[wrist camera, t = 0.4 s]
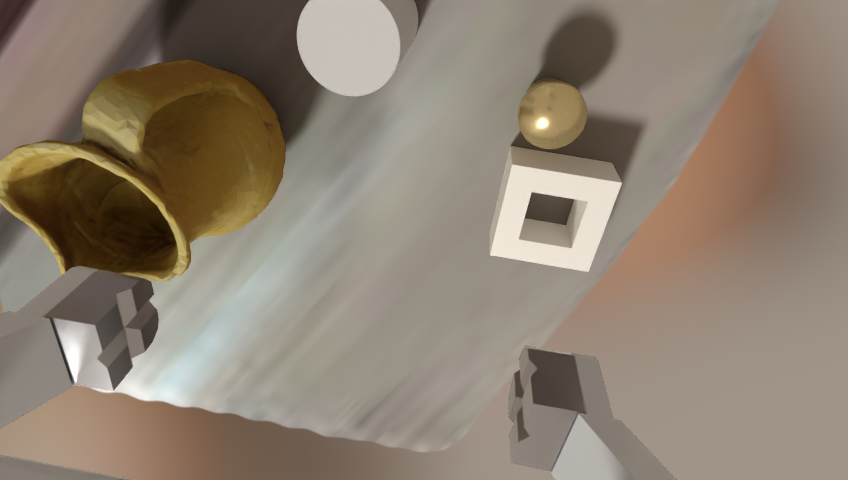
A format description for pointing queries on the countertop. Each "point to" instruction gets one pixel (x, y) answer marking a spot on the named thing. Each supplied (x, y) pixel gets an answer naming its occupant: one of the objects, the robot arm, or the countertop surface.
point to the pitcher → (150, 170)
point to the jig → (557, 177)
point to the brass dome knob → (552, 113)
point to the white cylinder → (355, 42)
